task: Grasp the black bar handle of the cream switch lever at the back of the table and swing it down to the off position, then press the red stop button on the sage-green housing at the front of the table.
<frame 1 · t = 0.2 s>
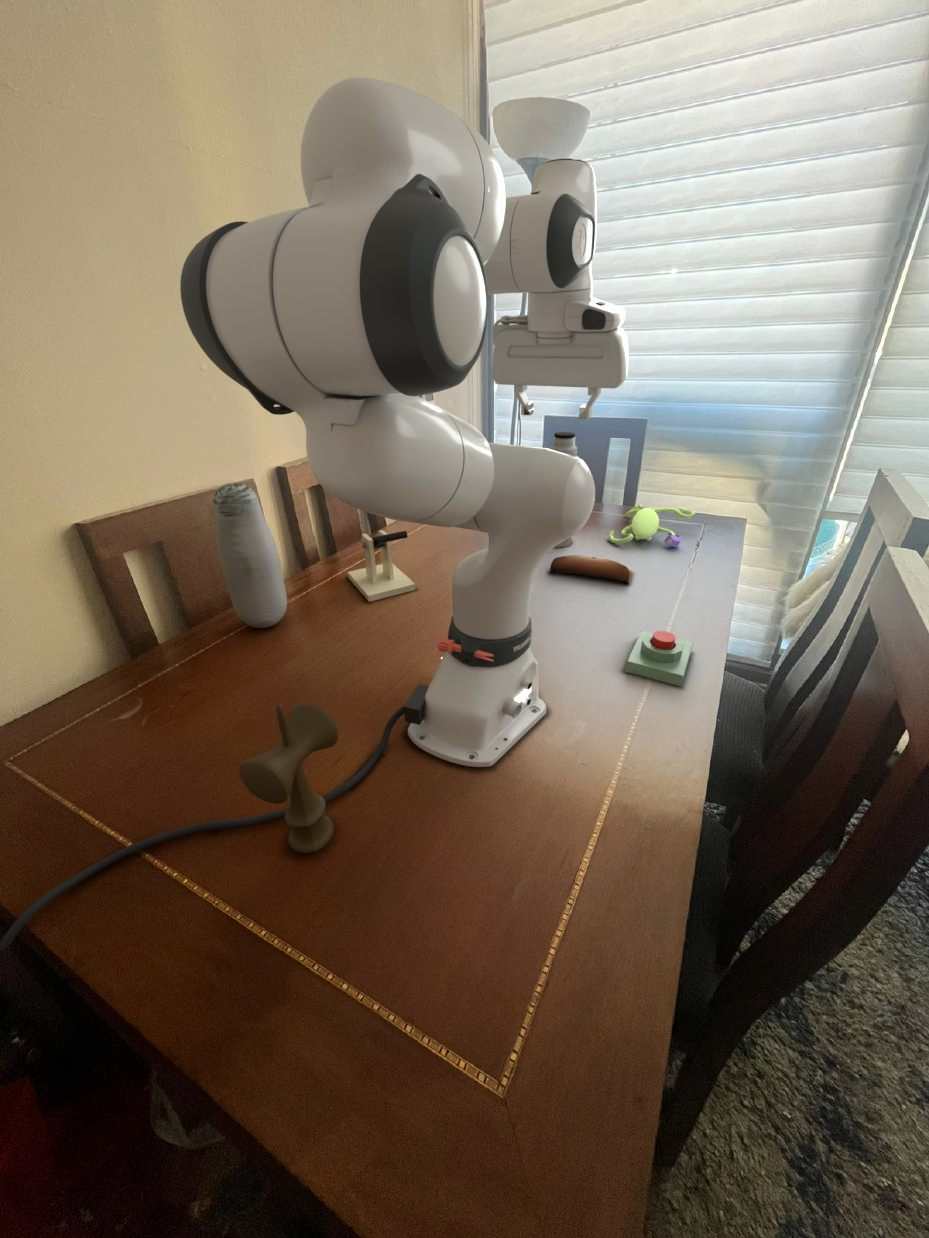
hand: (555, 416, 81), 39 cm above the table, tool pointing down, fingers open, 8 cm apart
grey bottle: (266, 623, 103), on the table
thermos bottle: (555, 542, 138), on the table
figurine: (649, 533, 143), on the table
sunglasses case: (590, 573, 121), on the table
kendama: (312, 838, 60), on the table
switch lever: (383, 540, 108), point 12 cm above the table, hinge at 25.0°
switch bracket: (381, 583, 118), on the table
stop box: (658, 662, 90), on the table
stop button: (663, 640, 87), point 4 cm above the table, slide at 0.1 cm
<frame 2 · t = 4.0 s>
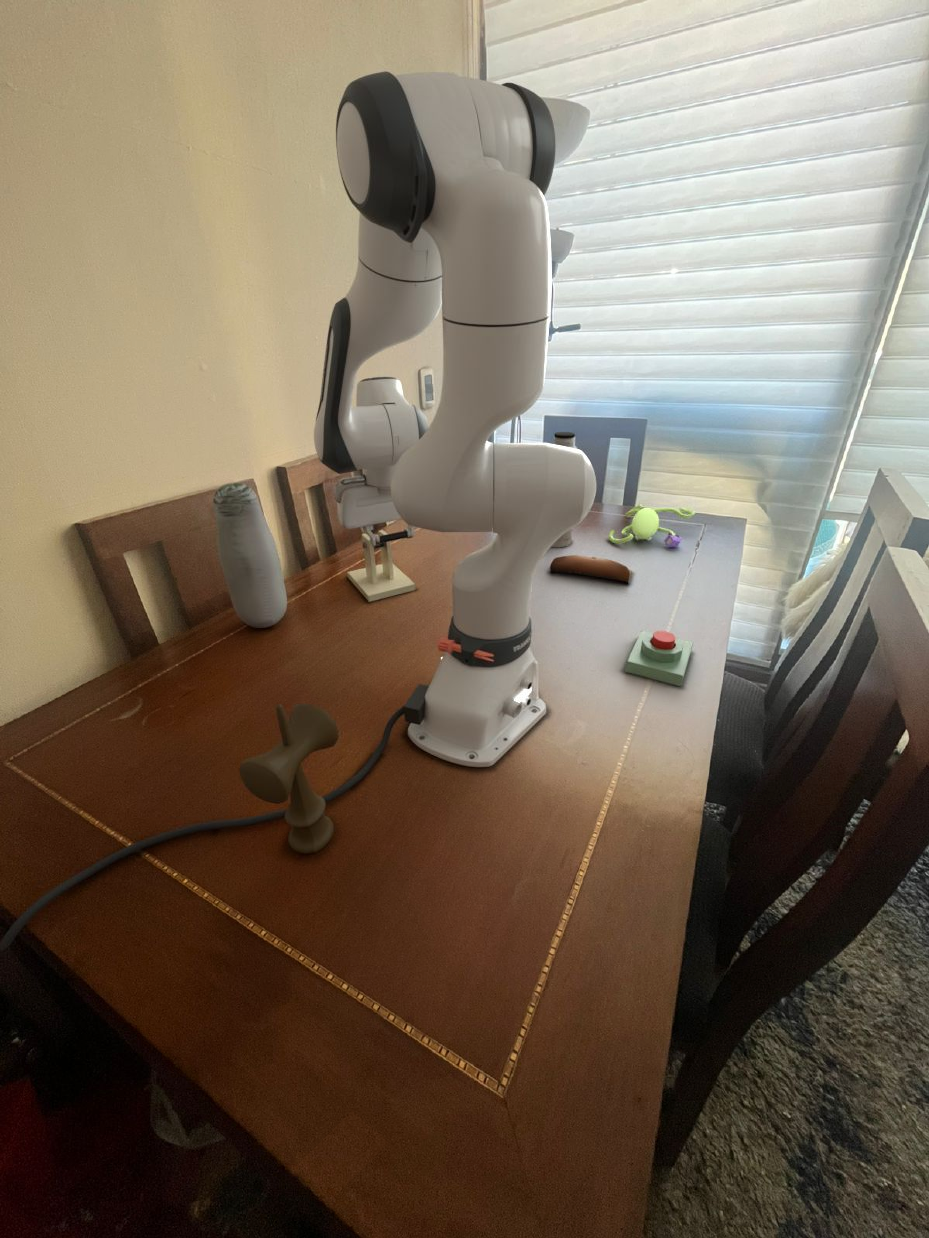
hand: (392, 540, 103), 14 cm above the table, tool pointing down, fingers closed on switch lever, 6 cm apart
switch lever: (383, 540, 108), point 12 cm above the table, hinge at 25.0°, touching gripper
everything else where it was.
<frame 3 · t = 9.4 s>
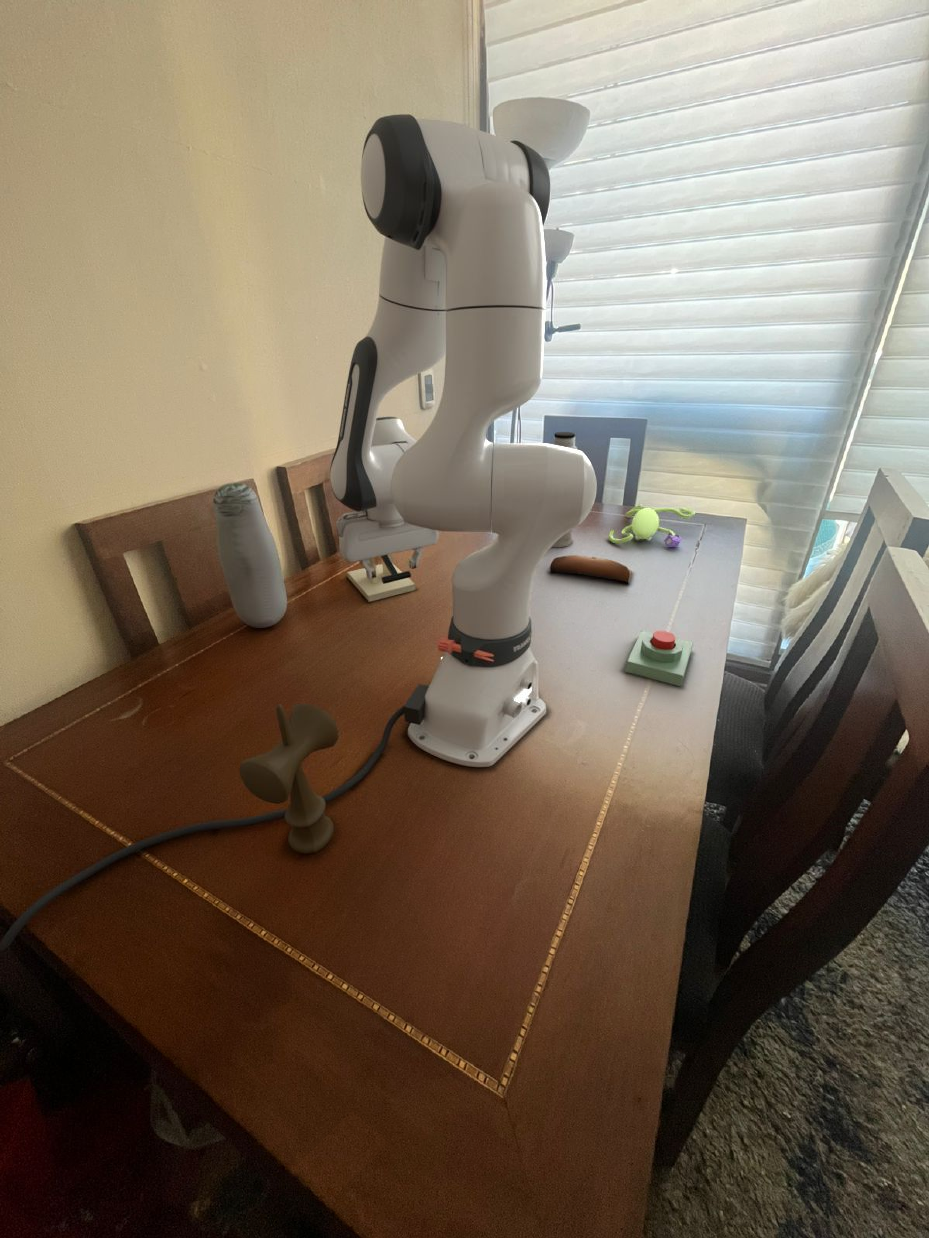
hand: (393, 572, 106), 7 cm above the table, tool pointing down, fingers open, 8 cm apart
switch lever: (385, 558, 110), point 8 cm above the table, hinge at -22.3°
everything else where it was.
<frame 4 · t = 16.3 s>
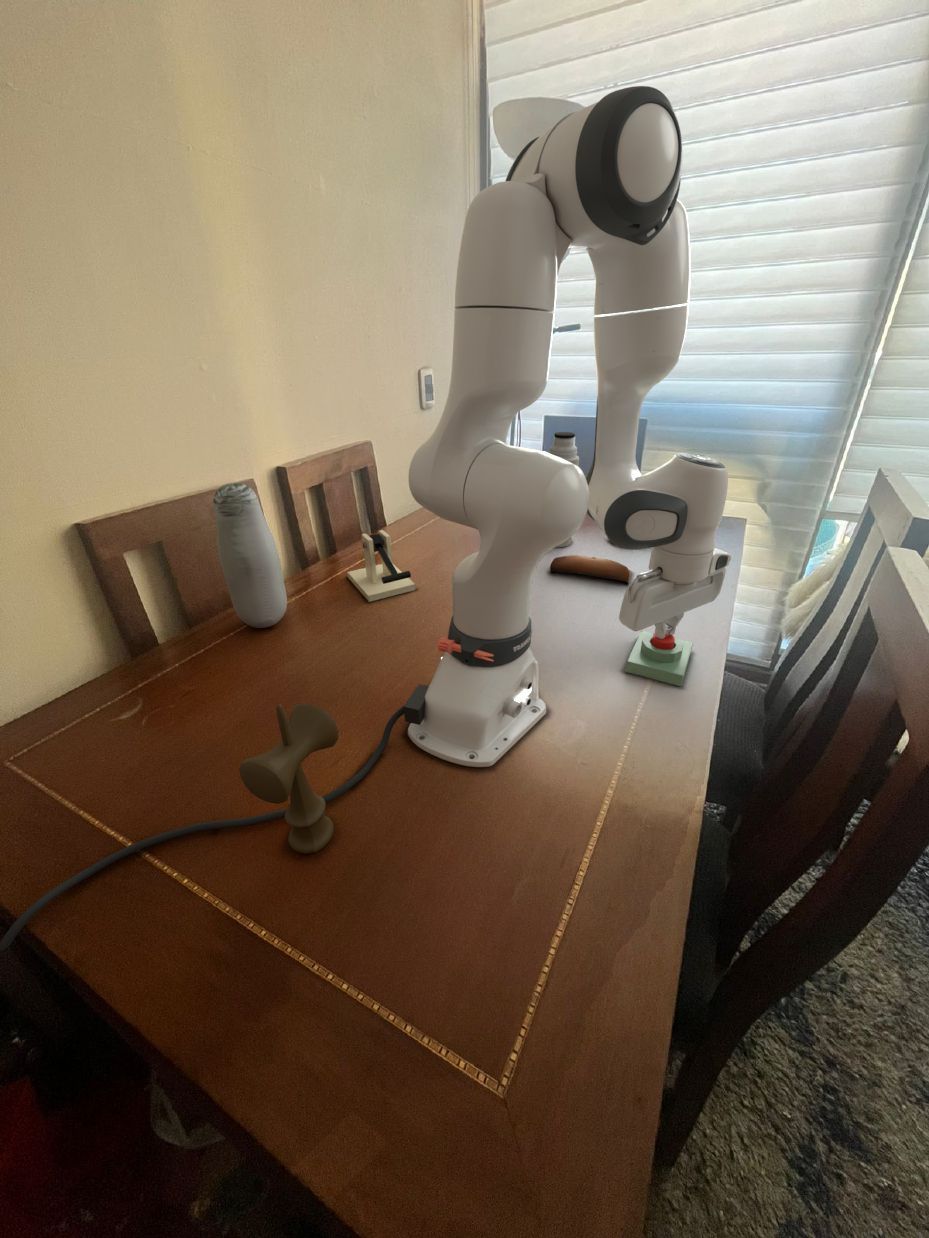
hand: (664, 635, 88), 5 cm above the table, tool pointing down, fingers closed, pressing on stop button
stop button: (663, 641, 88), point 4 cm above the table, slide at -0.1 cm, touching gripper
everything else where it was.
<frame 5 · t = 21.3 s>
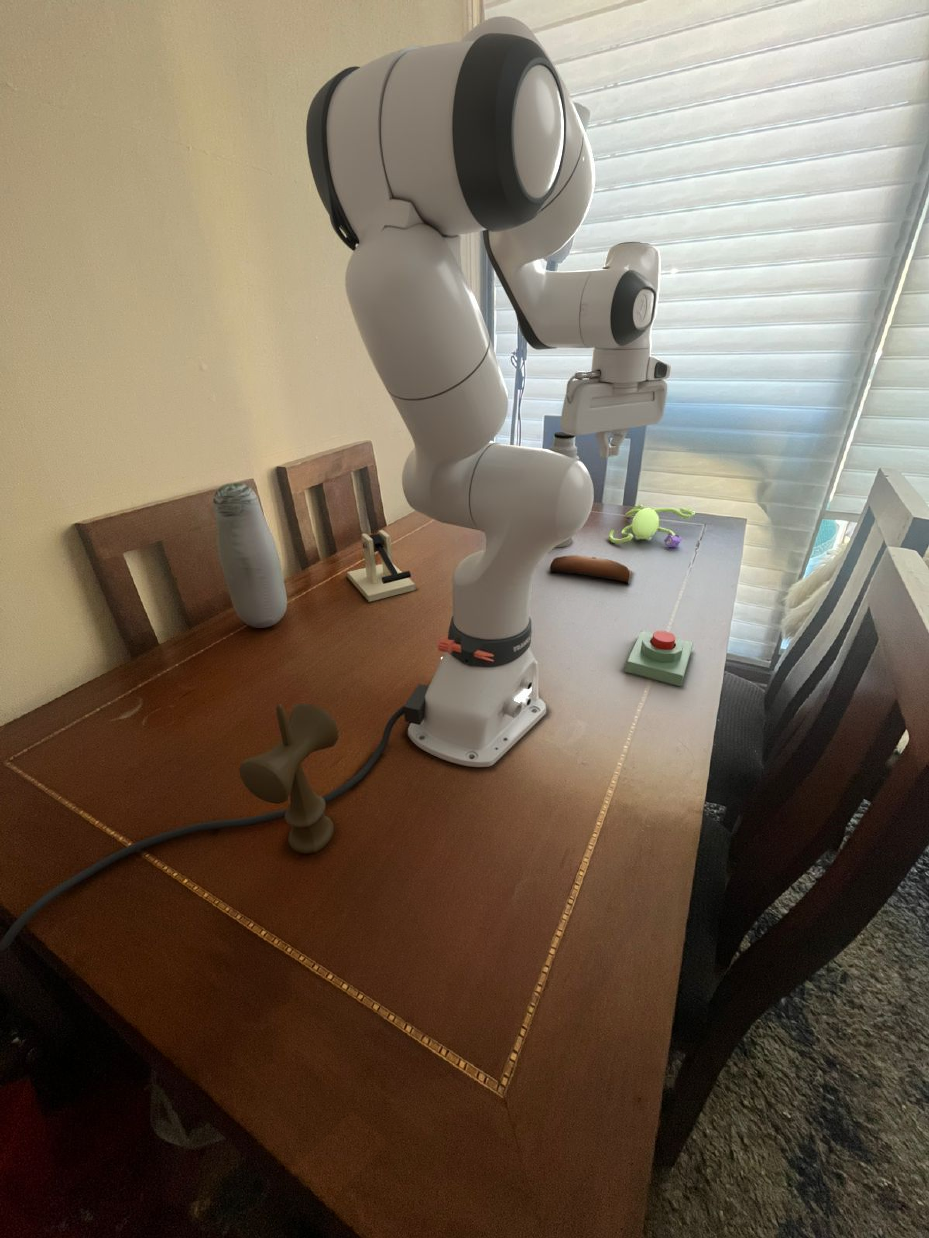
hand: (608, 456, 90), 31 cm above the table, tool pointing down, fingers closed
stop button: (663, 640, 87), point 4 cm above the table, slide at 0.1 cm
everything else where it was.
at the end: switch lever at -22° (first picture: +25°); stop button pushed in 1.1 cm at the most during the clip, back to where it started at the end; stop button slide at 0.1 cm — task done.
